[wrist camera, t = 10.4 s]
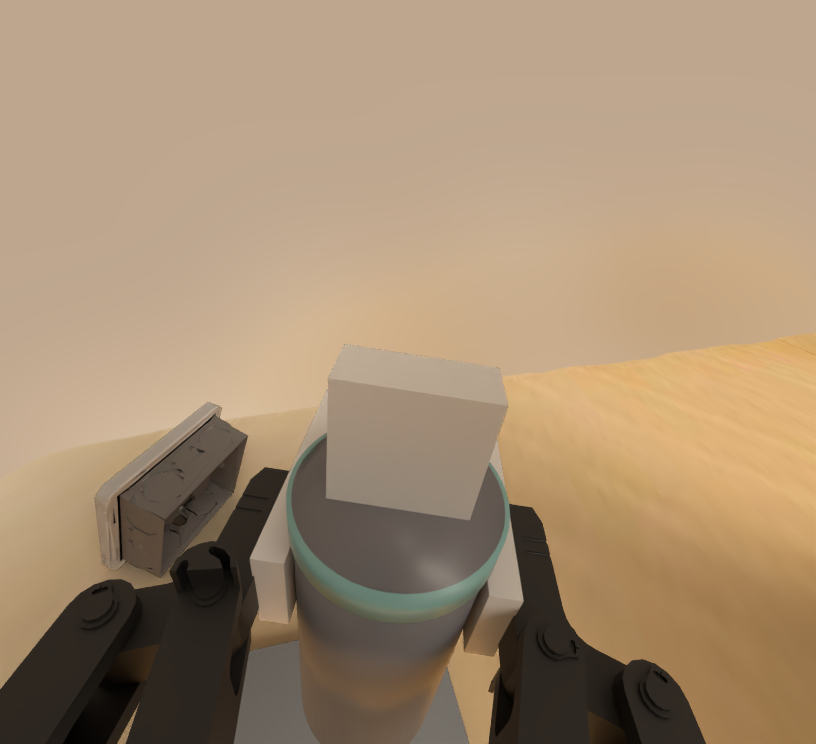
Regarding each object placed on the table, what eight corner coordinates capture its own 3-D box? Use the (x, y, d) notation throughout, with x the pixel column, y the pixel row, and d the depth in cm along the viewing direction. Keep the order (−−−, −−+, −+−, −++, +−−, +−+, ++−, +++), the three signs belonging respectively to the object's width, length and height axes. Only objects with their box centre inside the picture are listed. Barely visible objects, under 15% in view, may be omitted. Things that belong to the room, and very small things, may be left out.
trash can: (436, 614, 16) (529, 332, 9) (432, 781, 12) (597, 503, 5) (320, 596, 16) (322, 301, 9) (277, 756, 12) (221, 445, 5)
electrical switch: (202, 472, 34) (192, 389, 29) (254, 494, 33) (254, 413, 28) (102, 571, 26) (64, 482, 21) (169, 602, 25) (146, 518, 20)
